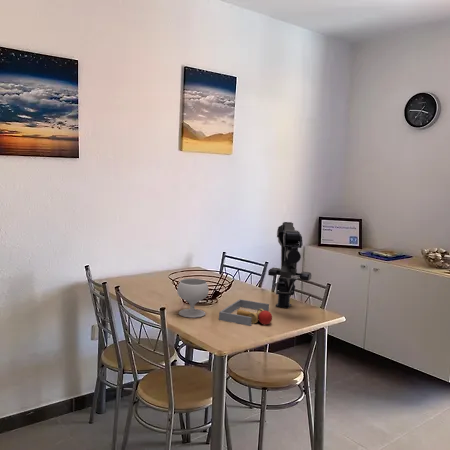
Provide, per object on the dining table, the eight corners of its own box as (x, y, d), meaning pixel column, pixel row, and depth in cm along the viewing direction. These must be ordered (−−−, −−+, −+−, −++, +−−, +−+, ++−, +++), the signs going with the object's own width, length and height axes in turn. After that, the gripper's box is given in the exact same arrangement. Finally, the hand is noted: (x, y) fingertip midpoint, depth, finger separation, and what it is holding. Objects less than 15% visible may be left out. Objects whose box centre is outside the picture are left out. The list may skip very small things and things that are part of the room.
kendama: (232, 320, 206) (264, 325, 193) (233, 306, 206) (265, 310, 194) (243, 320, 211) (275, 325, 199) (244, 306, 212) (276, 310, 200)
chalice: (207, 309, 215) (208, 278, 213) (207, 319, 201) (209, 286, 199) (177, 308, 214) (178, 277, 212) (175, 318, 200) (176, 284, 199)
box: (239, 306, 223) (239, 299, 222) (268, 311, 217) (269, 304, 217) (218, 319, 201) (219, 312, 201) (250, 325, 196) (251, 317, 195)
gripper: (265, 259, 205) (263, 293, 207) (306, 264, 197) (304, 299, 199) (273, 255, 215) (271, 288, 217) (312, 260, 207) (310, 294, 209)
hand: (288, 292), depth 210 cm, fingers closed
